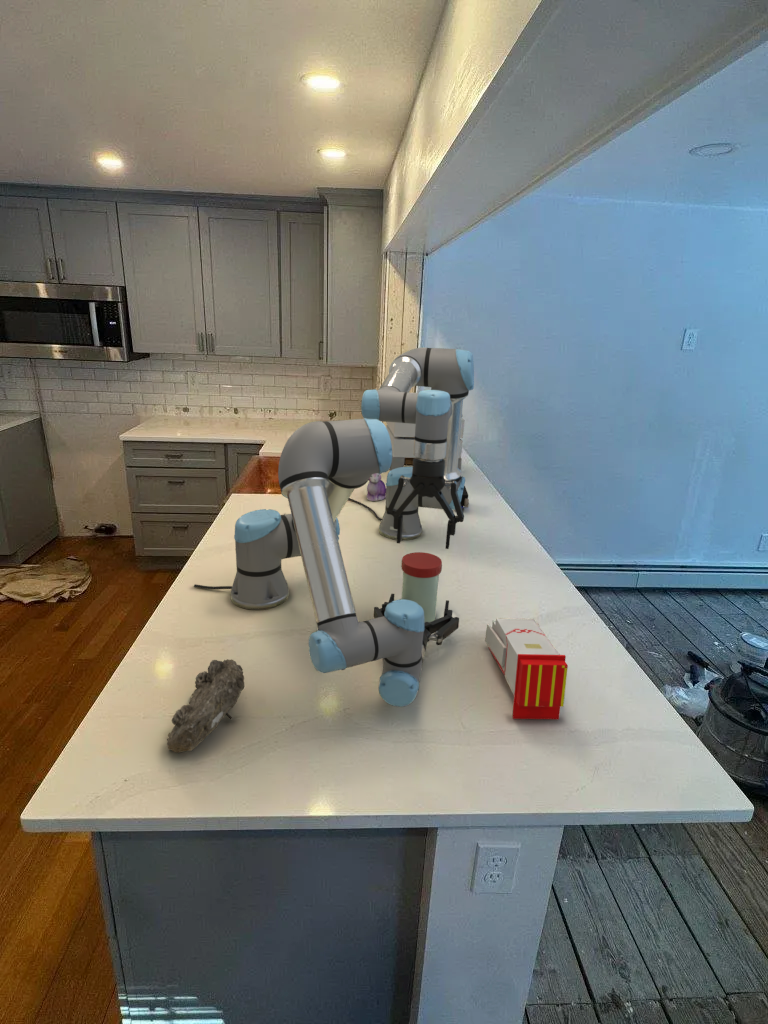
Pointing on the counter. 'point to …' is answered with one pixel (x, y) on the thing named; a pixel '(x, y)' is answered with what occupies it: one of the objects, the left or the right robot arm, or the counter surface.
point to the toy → (529, 667)
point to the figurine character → (464, 499)
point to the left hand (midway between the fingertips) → (419, 601)
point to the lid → (421, 565)
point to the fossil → (206, 705)
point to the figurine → (376, 488)
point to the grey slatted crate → (409, 443)
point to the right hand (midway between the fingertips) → (423, 544)
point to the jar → (421, 593)
